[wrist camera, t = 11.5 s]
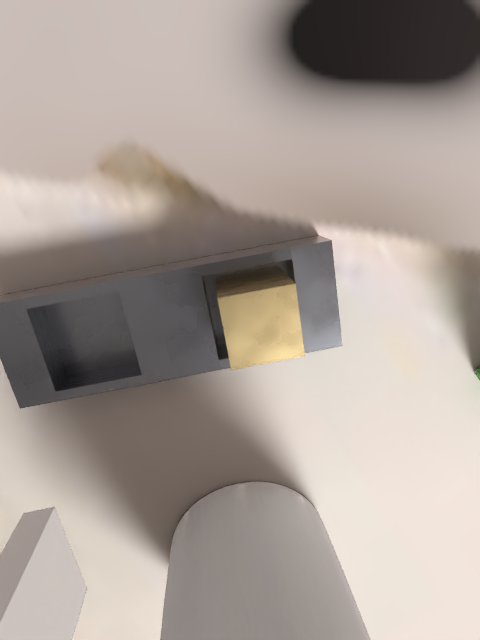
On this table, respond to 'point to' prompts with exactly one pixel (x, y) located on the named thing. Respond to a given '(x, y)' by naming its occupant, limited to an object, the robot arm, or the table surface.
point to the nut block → (259, 316)
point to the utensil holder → (256, 571)
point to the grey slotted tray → (149, 322)
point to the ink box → (478, 372)
